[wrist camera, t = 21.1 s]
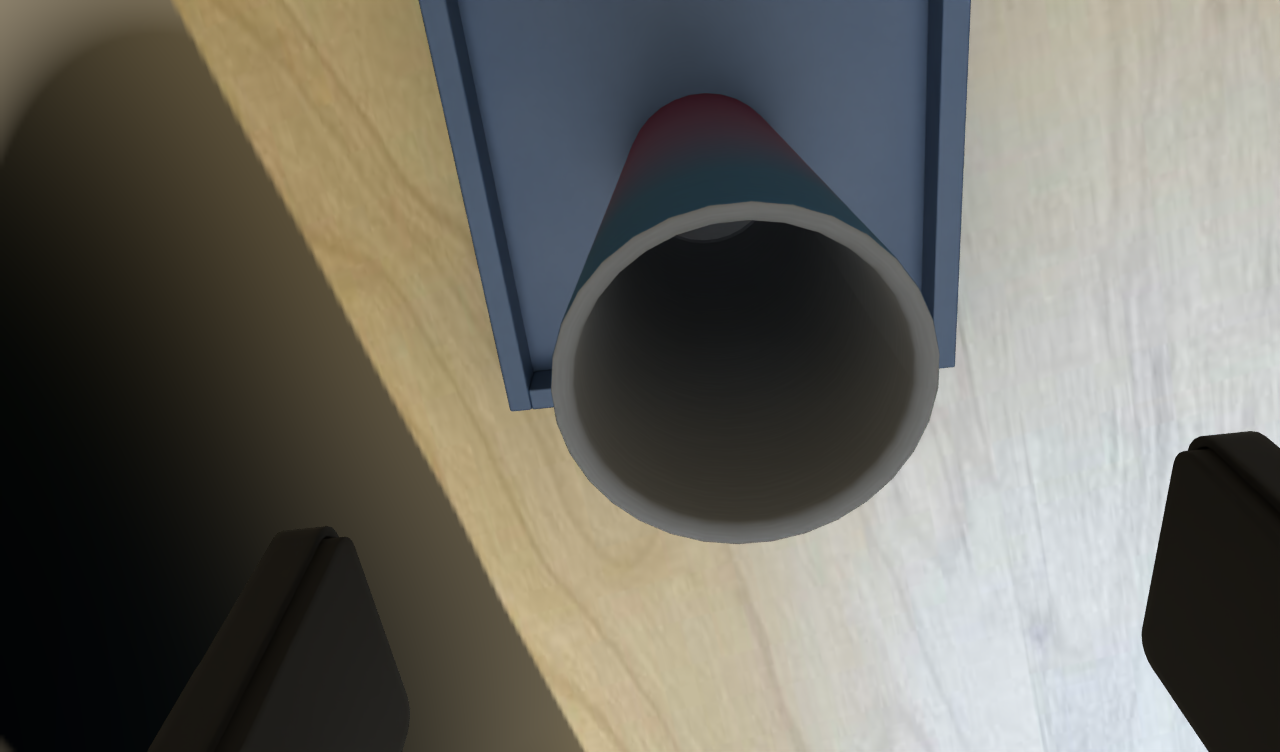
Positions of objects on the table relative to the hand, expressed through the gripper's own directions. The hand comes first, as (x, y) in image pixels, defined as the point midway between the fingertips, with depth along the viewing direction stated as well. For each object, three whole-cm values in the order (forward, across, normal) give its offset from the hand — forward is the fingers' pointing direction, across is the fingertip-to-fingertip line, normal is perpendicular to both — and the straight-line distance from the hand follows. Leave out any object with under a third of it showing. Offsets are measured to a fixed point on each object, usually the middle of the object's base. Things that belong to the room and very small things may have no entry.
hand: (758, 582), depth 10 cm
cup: (+21, -1, +1) cm, 21 cm away
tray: (+21, -1, 0) cm, 21 cm away
